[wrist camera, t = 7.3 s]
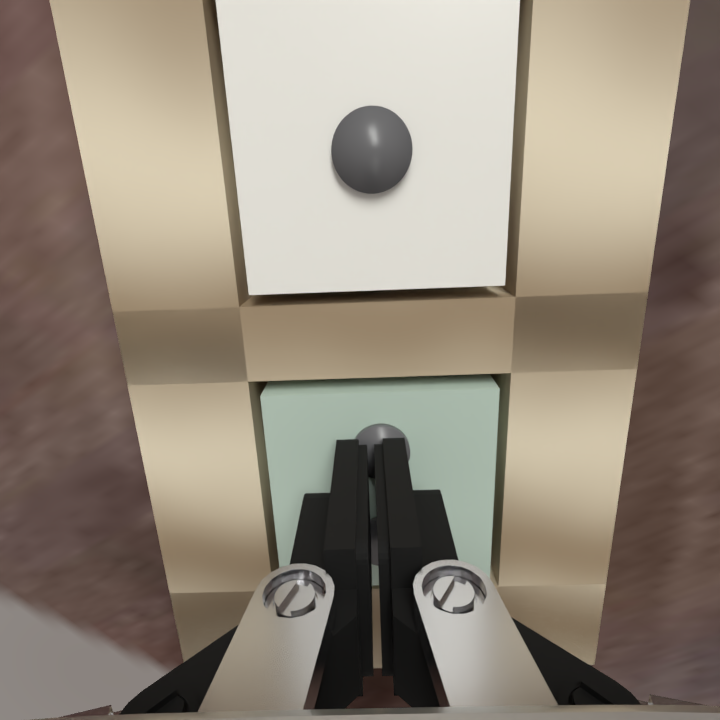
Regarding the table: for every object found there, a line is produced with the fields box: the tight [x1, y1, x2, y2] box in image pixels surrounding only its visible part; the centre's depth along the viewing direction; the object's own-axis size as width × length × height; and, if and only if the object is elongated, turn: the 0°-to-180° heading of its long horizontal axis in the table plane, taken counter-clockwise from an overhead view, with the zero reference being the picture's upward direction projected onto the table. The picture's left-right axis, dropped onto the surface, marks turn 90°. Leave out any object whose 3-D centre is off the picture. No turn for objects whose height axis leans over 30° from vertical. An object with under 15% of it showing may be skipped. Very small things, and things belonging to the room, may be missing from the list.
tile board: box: [50, 0, 690, 668], centre depth 13 cm, size 20×12×3 cm, turn 2°
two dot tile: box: [260, 374, 500, 586], centre depth 13 cm, size 6×6×2 cm
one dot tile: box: [216, 0, 520, 295], centre depth 11 cm, size 6×6×2 cm
